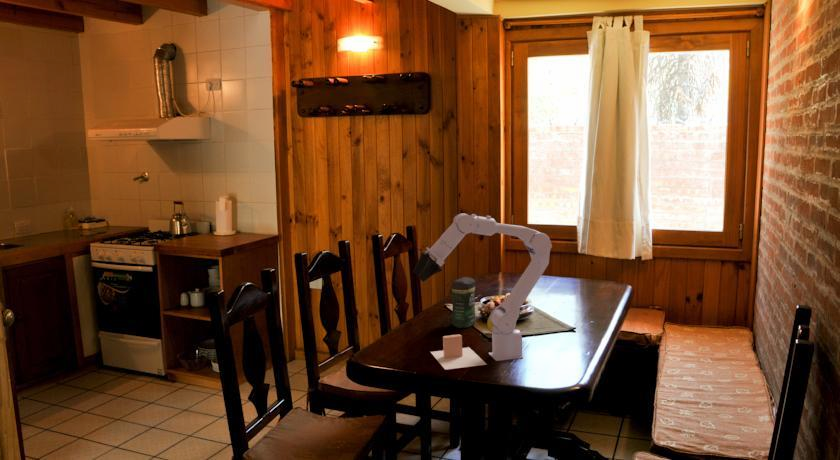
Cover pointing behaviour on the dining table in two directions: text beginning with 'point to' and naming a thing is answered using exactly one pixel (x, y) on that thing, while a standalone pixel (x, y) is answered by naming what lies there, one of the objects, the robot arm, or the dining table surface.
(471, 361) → the mat
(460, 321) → the coffee jar
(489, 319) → the lemon
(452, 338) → the tile
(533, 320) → the dining table surface
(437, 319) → the dining table surface
